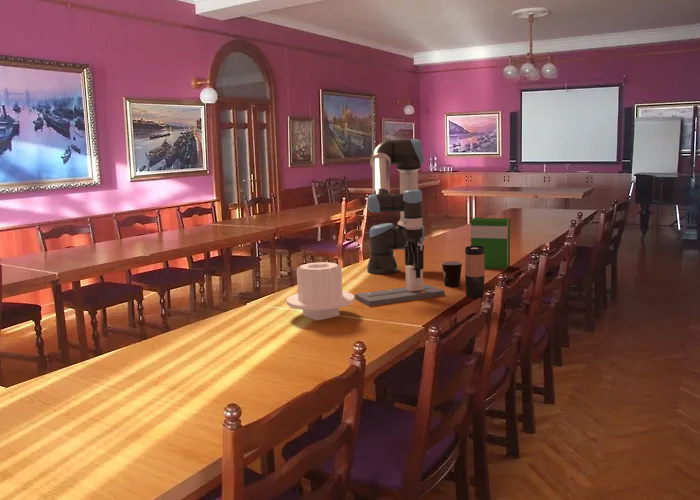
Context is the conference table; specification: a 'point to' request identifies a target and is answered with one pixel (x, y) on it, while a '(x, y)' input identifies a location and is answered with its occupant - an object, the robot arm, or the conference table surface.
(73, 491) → the conference table surface
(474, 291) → the travel mug
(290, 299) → the ribbed cylinder on disc
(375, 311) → the conference table surface
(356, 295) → the fader console
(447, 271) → the coffee mug
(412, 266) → the fader tab
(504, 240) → the hardback book
